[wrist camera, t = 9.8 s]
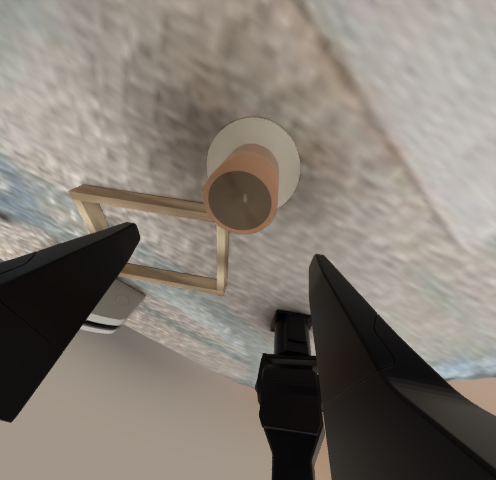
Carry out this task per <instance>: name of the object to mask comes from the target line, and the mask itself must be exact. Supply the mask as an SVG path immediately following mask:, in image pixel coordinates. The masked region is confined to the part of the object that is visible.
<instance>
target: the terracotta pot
mask: <svg viewBox="0 0 496 480" xmlns="http://www.w3.org/2000/svg"><path fill="white" fill-rule="evenodd" d="M278 188H279V166H278V162H277V160H276V158H275V156H274V155H273V154H272V152H271V151H269V150H268V149H267V148H265V147H264V146H261V145H258V144H245V145H242V146H240V147H238V148H236V149H235V150H234V151H233V152H232V153H231V154H230V155H229V156H228V157H227V158H226V159H225V160H224V162H223V163H222V164H221V165H220V166H219V167H218V168H217V169H216V170H215V171H214V172H213V173H212V174H211V175H210V177H209V178H208V179H207V181H206V183H205V186H204V189H203V202H204V206H205V209H206V211H207V213H208V215H209V216H210V218H211V219H212V220H213V221H214V222H215V223H216V224H217V225H218V226H220V227H221V228H223V229H224V230H227V231H229V232H232V233H236V234H252V233H256V232H258V231H260V230H262V229H264V228H265V227H266V226H268V225H269V224H270V222H271V221H272V220H273V218H274V216H275V214H276V211H277V206H278Z"/></svg>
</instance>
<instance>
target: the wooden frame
mask: <svg viewBox="0 0 496 480" xmlns="http://www.w3.org/2000/svg"><path fill="white" fill-rule="evenodd" d="M69 193H70V195H71V197H72V199H73V201H74V203H75V205H76V207H77V209H78V211H79V212H80V214H81V216H82V218H83V220H84V222H85V224H86V226H87V228H88V230H89V232H90V234H92V233H95V232H98V231H101V230H104V229H107V228H109V226H108V224H107V221H106V219H105V217H104V214H103V212H102V210H101V208H100V205H99V204H104V205H110V206H117V207H123V208H129V209H135V210H141V211H147V212H153V213H159V214H165V215H172V216H178V217H184V218H190V219H196V220H202V221H208V222H214V221H213V220H212V219H211V218H210V216H209V215H208V213H207V211H206V209H205V206H204V204H203V203H197V202H190V201H184V200H178V199H171V198H165V197H159V196H152V195H146V194H140V193H133V192H127V191H121V190H114V189H108V188H102V187H95V186H89V185H81V186H79V187H77V188H74V189H72V190H70V191H69ZM214 223H215V222H214ZM216 229H217V280H216V279H211V278H205V277H200V276H194V275H189V274H183V273H178V272H172V271H167V270H161V269H156V268H150V267H145V266H139V265H134V264H128V263H127V264H126V265H125V267H124V268H123V270H122V271H121V272H120V274H119V275H118V276H120V277H125V278H131V279H136V280H141V281H147V282H152V283H158V284H163V285H168V286H174V287H179V288H184V289H190V290H195V291H200V292H206V293H211V294H216V295H222V296H224V293H225V289H226V286H227V264H228V239H229V231H227V230H224V229H223V228H221V227H220V226H218V225H217V224H216Z"/></svg>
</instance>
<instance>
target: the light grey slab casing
mask: <svg viewBox="0 0 496 480" xmlns="http://www.w3.org/2000/svg"><path fill="white" fill-rule="evenodd" d="M145 297H146V296H145V295H144V294H142V293H140V292H138V291H137V290H135V289H133V288H131V287H129V286H128V285H126V284H124V283H122V282H121V281H119V280H117V279H115V281H114V282H113V284H112V285H111V286H110V288H109V289H108V290H107V292H106V293H105V295H104V296H103V297H102V299H101V300H100V302H99V303H98V304H97V306H96V307H95V308H94V310H93V311H92V313H91V314H90V315H89V317H88V318H87V320H86V321H85V322H84V324H83V325H82V326H81V328H80V329H82V330H86V331H92V332H97V333H106V334H110V333H113V332H114V331H116V330H117V329H119V328H120V326H121V325H122V324H123V323H124V322H125V321H126V320H127V319H128V317H129V316H130V315H131V314H132V313H133V312H134V311H135V310H136V308H137V307H138V306H139V305H140V304H141V303H142V302H143V300H144V299H145Z"/></svg>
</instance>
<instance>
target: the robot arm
mask: <svg viewBox="0 0 496 480" xmlns="http://www.w3.org/2000/svg"><path fill="white" fill-rule="evenodd" d="M139 241H140V234H139V231H138V228H137V225H136V224H135V223H130V222H125V223H122V224H119V225H116V226H113V227H110V228H107V229H104V230H101V231H98V232H95V233H92V234H88V235H85V236H82V237H79V238H76V239H73V240H70V241H67V242H64V243H61V244H58V245H55V246H52V247H49V248H46V249H42V250H39V251H38V252H33V253H30V254H27V255H24V256H21V257H18V258H14V259H11V260H8V261H5V262H1V263H0V420H1V421H5V422H10V423H11V422H12V421H13V420H14V419H15V418H16V416H17V415H18V414H19V413H20V411H21V410H22V408H23V407H24V405H25V404H26V403H27V402H28V400H29V399H30V397H31V396H32V395H33V393H34V392H35V390H36V389H37V388H38V386H39V385H40V383H41V382H42V381H43V379H44V378H45V377H46V375H47V374H48V372H49V371H50V370H51V368H52V367H53V365H54V364H55V362H56V361H57V360H58V358H59V357H60V356H61V354H62V353H63V351H64V350H65V349H66V347H67V346H68V344H69V343H70V342H71V340H72V339H73V338H74V336H75V334H76V333H77V332H78V331H79V329H80V328H81V326H82V325H83V324H84V322H85V321H86V320H87V318H88V317H89V315H90V314H91V313H92V311H93V310H94V308H95V307H96V306H97V304H98V303H99V302H100V300H101V299H102V297H103V296H104V295H105V293H106V292H107V290H108V289H109V288H110V286H111V285H112V284H113V282H114V281H115V279H116V278H117V277H118V275H119V274H120V272H121V271H122V270H123V268H124V267H125V265H126V264H127V262H128V260H129V259H130V257H131V255H132V253H133V252H134V250H135V248H136V246H137V245H138V243H139ZM309 303H310V311H311V316H307V315H301V314H296V313H291V312H285V311H280V310H277V311H276V313H275V316H274V319H273V322H272V325H271V329H270V330H271V331H273V332H275V338H274V354H266V353H263V355H262V358H261V362H260V368H259V373H258V378H257V382H256V385H255V390H256V392H257V395H258V402H259V405H260V411H259V418H260V421H261V424H262V427H263V428H264V431H265V434H266V437H267V439H268V443H269V445H270V448H271V451H272V480H315V470H314V465H315V462H316V459H317V456H318V453H319V450H320V448H321V445H322V442H323V439H324V436H325V430H326V438H327V445H328V453H329V462H330V469H331V478H332V480H496V416H495V415H493V414H491V413H489V412H487V411H485V410H484V409H482V408H480V407H479V406H477V405H475V404H474V403H472V402H471V401H469V400H468V399H467V398H465V397H464V396H462V395H461V394H460V393H459V392H457V391H456V390H455V389H454V388H453V387H451V385H450V384H448V383H447V382H446V381H445V380H444V379H443V378H442V377H441V376H440V375H439V374H438V373H437V372H436V371H435V370H434V369H433V368H432V367H431V366H430V365H428V364H427V363H426V362H425V361H424V360H423V359H422V358H421V357H420V356H419V355H418V354H417V353H416V352H415V351H414V350H413V349H412V348H411V347H410V346H409V345H408V344H407V343H406V342H405V341H404V340H403V339H402V338H401V337H399V336H398V335H397V333H396V332H395V331H394V330H393V329H392V328H391V327H390V326H389V325H388V324H387V323H386V322H385V321H384V320H383V319H382V318H381V317H380V315H379V314H377V312H376V311H375V310H374V309H373V308H372V307H371V306H370V305H369V304H368V302H367V301H366V300H365V299H364V298H363V297H362V296H361V295H360V294H359V293H358V292H357V291H356V289H355V288H354V287H353V286H352V285H351V284H350V283H349V282H348V281H347V280H346V279H345V277H344V276H343V275H342V274H341V273H340V272H339V271H338V270H337V269H336V268H335V267H334V265H333V264H332V263H331V262H330V261H329V260H328V259H327V258H326V257H325V256H324V255H320V254H315V255H314V257H313V259H312V261H311V264H310V266H309ZM311 326H312V327H313V335H314V343H315V351H316V356H311V347H310V338H309V330H310V328H311ZM317 373H318V374H319V375H317ZM322 412H323V413H322ZM323 415H324V422H325V430H324V422H323Z"/></svg>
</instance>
